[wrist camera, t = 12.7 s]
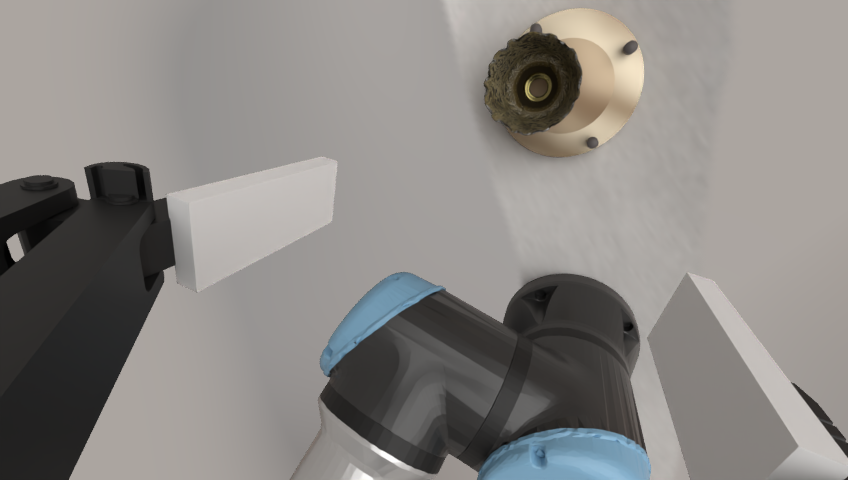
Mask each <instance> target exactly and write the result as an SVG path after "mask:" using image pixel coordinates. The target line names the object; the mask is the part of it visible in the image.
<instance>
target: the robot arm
mask: <svg viewBox="0 0 848 480" xmlns="http://www.w3.org/2000/svg"><path fill="white" fill-rule="evenodd" d="M337 164H338V162H337V161H335V160H332V159H329V158H326V157H323V156H322V157H317V158H313V159H309V160H305V161H301V162H297V163H293V164H289V165H284V166H280V167H276V168H272V169H268V170H264V171H260V172H256V173H251V174H247V175H244V176H239V177H235V178H231V179H227V180H223V181H218V182H215V183H210V184H206V185H202V186H198V187H194V188H190V189H185V190H182V191H177V192H173V193H169V194H166V197H167V198H163V199H159V200H156V201H154V200H153V193H152V186H151V179H150V172H149V169H148V168H147V167H145V166H143V165H139V164H134V163H127V162H105V163H98V164H93V165H89V166H87V167H84V169H85V174H86V178H87V183H88V187H89V191H90V196H91V199H90V200H84V199H79V198H77V193H76V189H75V185H74V182H72V181H71V180H69V179H64V178H59V177H51V176H48V175H43V176H41V175H40V176H39V175H37V176H30V177H26V178H21V179H17V180H13V181H9V182H6V183H4V184H0V480H69V478H70V476H71V474H72V472H73V470H74V467H75V465H76V463H77V461H78V459H79V457H80V455H81V453H82V451H83V449H84V447H85V444H86V443H87V440H88V438H89V436H90V434H91V432H92V430H93V428H94V426H95V424H96V422H97V420H98V418H99V416H100V413H101V411H102V409H103V407H104V405H105V403H106V401H107V399H108V397H109V395H110V393H111V391H112V389H113V387H114V384H115V382H116V380H117V378H118V376H119V374H120V372H121V370H122V368H123V366H124V364H125V362H126V360H127V358H128V356H129V353H130V351H131V349H132V347H133V345H134V343H135V341H136V339H137V337H138V335H139V333H140V331H141V329H142V327H143V324H144V322H145V320H146V318H147V316H148V314H149V312H150V310H151V308H152V306H153V304H154V302H155V299H156V297H157V295H158V293H159V291H160V289H161V287H162V285H163V283H164V272H163V270H165V269H167V268H169V267H171V266H174V265H175V270H176V279H177V283H178V284H180V285H182V286H184V287H186V288H188V289H191V290H193V291H195V292H199V291H201V290H203V289H205V288H207V287H209V286H211V285H212V284H214V283H216V282H218V281H220V280H222V279H224V278H226V277H228V276H230V275H232V274H233V273H235V272H237V271H239V270H241V269H243V268H245V267H247V266H248V265H251V264H253V263H254V262H256V261H258V260H260V259H262V258H264V257H266V256H268V255H270V254H272V253H273V252H275V251H277V250H279V249H281V248H283V247H285V246H287V245H289V244H291V243H293V242H294V241H296V240H298V239H300V238H302V237H304V236H306V235H308V234H310V233H312V232H314V231H316V230H317V229H319V228H321V227H323V226H325V225H327V224H329V223H331V222H332V217H333V206H334V195H335V185H336V174H337ZM16 233H17V234H18V237H19V240H20V243H21V246H22V249H23V252H24V255H25V256H24V257H22V258H21V259H20V260H19V261H17V262H15V261H14V260H13V259H12V257H11V254H10V251H9V248H8V246H7V243H6V242H7V240H8V239H9V238H10V237H12V236H13V235H14V234H16ZM647 339H648V342H649V345H650V348H651V352H652V355H653V358H654V362H655V365H656V368H657V371H658V375H659V378H660V381H661V385H662V388H663V391H664V394H665V398H666V401H667V404H668V408H669V411H670V414H671V418H672V421H673V424H674V427H675V431H676V434H677V437H678V441H679V444H680V447H681V450H682V454H683V457H684V460H685V464H686V467H687V470H688V473H689V477H690V480H848V443H846V442H845V441H846V439H845V438H844V436H843V435H842V434H841V432H840V431H839V430H838V429H837V427H835V426H832V424H833V422H832V421H831V420H830V418H829V417H828V416H827V415H826V413H825V412H824V411H823V410H822V408H821V407H820V406H819V405H818V403H816V402H815V401H814V400H813V399H812V398H811V397H809V396H808V395H807V394H806V393H805V392H804V391H803V390H801V389H800V388H799V387H798V386H797V385H795V384H794V383H791V382H790V381H789V380H788V379H787V377H786V376H785V374H784V373H783V372H782V370H781V369H780V368H779V367H778V365H777V364H776V362H775V361H774V360H773V359H772V357H771V356H770V355H769V353H768V352H767V351H766V349H765V348H764V347H763V345H762V344H761V343H760V341H759V340H758V339H757V337H756V336H755V335H754V333H753V332H752V331H751V329H750V328H749V327H748V325H747V324H746V323H745V321H744V320H743V319H742V317H741V316H740V315H739V314H738V312H737V311H736V310H735V308H734V307H733V306H732V304H731V303H730V302H729V300H728V299H727V298H726V296H725V295H724V294H723V292H722V291H721V290H720V288H719V287H718V286H717V284H716V283H715V282H714V281H713V280H710V279H707V278H704V277H701V276H698V275H694V274H691V273H688V272H687V273H686V275H685V276H684V278H683V280H682V281H681V283H680V285H679V286H678V288H677V290H676V291H675V293H674V294H673V296H672V298H671V299H670V301H669V303H668V304H667V306H666V308H665V309H664V311H663V313H662V314H661V316H660V318H659V319H658V321H657V322H656V324H655V326H654V327H653V329H652V331H651V332H650V334H649V336H648V337H647ZM639 351H640V335H639V330H638V327H637V323H636V320H635V317H634V314H633V312H632V310H631V309H630V307H629V306H628V304H627V303H626V302H625V300H624V299H623V298H622V297H621V296H620V295H619V294H618V293H616V292H615V291H614V290H612V289H611V288H610V287H608V286H606V285H605V284H603V283H601V282H598V281H596V280H594V279H591V278H588V277H584V276H579V275H572V274H556V275H549V276H545V277H541V278H538V279H536V280H533V281H531V282H529V283H528V284H526V285H525V286H523V287H522V288H521V289H520V290H519V291H518V292H517V293H516V294H515V295H514V296H513V298H512V299H511V301H510V303H509V305H508V307H507V311H506V313H505V317H504V321H503V324H502V323H500V322H499V321H497V320H495V319H493V318H492V317H490V316H488V315H486V314H485V313H483V312H481V311H479V310H478V309H476V308H474V307H473V306H471V305H469V304H467V303H466V302H464V301H462V300H460V299H459V298H457V297H455V296H453V295H451V294H450V293H448V292H446V289H445V288H444V287H442V286H436V285H434V284H432V283H430V282H428V281H426V280H424V279H422V278H420V277H417V276H416V275H414V274H411V273H407V272H400V273H395V274H392V275H390V276H388V277H387V278H385V279H384V280H382V281H380V282H379V283H378V284H377V285H375V286H374V287H373V288H372V289H371V290H370V291H368V292H367V293H366V294H365V295H364V296H363V297H362V298H361V299H360V301H359V302H358V303H357V304H356V305H355V306H354V307H353V308H352V310H351V311H350V312H349V313H348V314H347V315H346V317H345V318H344V319H343V321H342V322H341V323H340V325H339V326H338V327H337V329H336V330H335V331H334V333H333V334H332V336H331V338H330V340H329V342H328V345H327V347H326V348H325V349H324V351H323V353H322V355H321V358H320V367H321V369H322V370H323V371H324V375H326V376H327V377H330V380H329V382H328V384H327V385H326V386H325V388H324V390H323V391H322V393H321V395H320V396H319V398H318V404H319V410H320V415H321V422H322V423H321V429H320V431H319V432H318V434H317V436H316V437H315V439H314V441H313V442H312V444H311V446H310V447H309V449H308V450H307V452H306V454H305V456H304V457H303V459H302V460H301V462H300V464H299V465H298V467H297V468H296V470H295V472H294V473H293V475H292V477H291V478H290V480H430V479H433V478H435V477H436V476H437V474H438V472H439V470H440V468H441V466H442V464H443V462H444V460H445V458H446V456H447V455H448V454H451V455H452V456H454V457H456V458H457V459H459V460H461V461H462V462H463V463H465V464H467V465H468V466H470V467H471V468H472V469H474V470H476V471H477V472H479V475H478V478H477V480H650V473H651V465H650V462H649V458H648V456H647V452H646V447H645V443H644V439H643V434H642V430H641V425H640V421H639V416H638V412H637V407H636V403H635V399H634V394H633V390H632V385H631V381H630V378H631V375H632V372H633V370H634V367H635V364H636V362H637V359H638V356H639Z"/></svg>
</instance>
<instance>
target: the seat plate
mask: <svg viewBox="0 0 848 480" xmlns="http://www.w3.org/2000/svg"><path fill="white" fill-rule="evenodd" d="M533 31H534V32H541V33H544V34H546V33H552V34H554V35H556V36H557V38H558V39H559V40H561V41H562V42H564V43H565V44H566V45H567V46H568V47H569V48H573V49H574V50H575V51H576V54H577V57H578V61H579V63H580V65H581V68H582V74H583V75H582V82H581V85H580V95H579V98H578V99H577V100H576V101H575V103H574V106H573V109H572V110H571V112H570V113H569V114H568V115H567V116H566V117H565V118H564V119H563V120H562V121H561V122H560V123H558V124H557V125H555V126H552V127H551V128H550V129H549V130H547V131H545V132H537V133H535V134H532V135H528V136H525V135H521V134H520V133H513V132H511V131H510V129H509V128H508V127H506V129H507V130H508V132H509V133H510V134H511V135H512V137H513V138H514V139H515V140H516V141H517V142H518V143H520V144H521V145H522V146H524V147H525V148H527V149H529V150H531V151H533V152H535V153H538V154H541V155H545V156H550V157H569V156H575V155H579V154H582V153H586V152H588V151H590V150H593V149H595V148H597V147H599V146H600V145H602V144H604V143H605V142H606V141H608V140H609V139H610V138H612V137H613V136H614V135H615V134H616V133H617V132H618V131H619V130H620V129H621V128H622V127H623V126H624V125H625V123H626V122H627V121H628V119H629V118H630V116H631V115H632V113H633V111H634V109H635V107H636V105H637V103H638V100H639V98H640V95H641V91H642V87H643V80H644V63H643V58H642V53H641V50H640V47H639V45H638V43H637V41H636V39H635V37H634V35H633V34H632V33H631V32H630V30H629V29H628V28H627V27H626V26H625V25H624V24H623V23H622V22H621V21H619V20H618V19H616V18H615V17H613V16H611V15H609V14H607V13H604V12H602V11H598V10H594V9H585V8H577V9H568V10H563V11H560V12H557V13H554V14H551V15H549V16H547V17H545V18H543V19H541V20H540V21H538V22H536V23H535V24H533V25H532V26H531V27H530V28H528V29H527V30H526V31H525V32H524V33H523V34H522V35H524V34H526V33H528V32H533ZM522 35H521V36H522ZM521 36H520V37H521ZM520 37H519V38H520ZM546 91H547V82H546V81H545V80H544V79H536V80H534V81H533V82H532V83H531V85H530V92H531V94H532V95H533V96H536V97H540V96H542V95H544V94H545V93H546Z"/></svg>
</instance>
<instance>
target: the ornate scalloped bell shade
mask: <svg viewBox="0 0 848 480" xmlns="http://www.w3.org/2000/svg"><path fill="white" fill-rule="evenodd" d="M493 59H494V60H493V61H492V62H491V63H490V64H489V71H488V75H489V76H488V77H487V78H486V80H485V81H484V86H485V88H486V93H485V105H486V107H487V108H488V110H489V112H490V113H491V114H492V115H491V116H492V118H493V119H494V120H495V121H496V122H497V121H498V122H501V123H502V124H503V125H504V126H505V127H508V128H509V129H510V131H511V132H513V133H520V134H521V135H525V136H528V135H532V134H535V133H537V132H545V131H547V130H549V129H550V128H551V127H552V126H555V125H557V124H558V123H560V122H561V121H562V120H563V119H564V118H565V117H566V116H567V115H568V114H569V113H570V112H571V110H572V109H573V106H574V103H575V101H576V100H577V99H578V98H579V95H580V85H581V82H582V75H583V74H582V68H581V65H580V63H579V61H578V57H577V54H576V51H575V50H574V49H573V48H569V47H568V46H567V45H566V44H565V43H564V42H562V41H561V40H559V39H558V38H557V36H556V35H554V34H552V33H546V34H544V33H541V32H534V31H533V32H528V33H526V34H524V35H522V36H521V37H520V38H518V39H511V40H509V41H508V43H507V48H505V49H501V50H499V51H498V52H497V53H496V54H495V56H494V58H493ZM536 79H544V80H545V81H546V82H547V91H546V93H545V94H544V95H542V96H540V97H536V96H533V95H532V94H531V92H530V85H531V83H532V82H533V81H534V80H536Z"/></svg>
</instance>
